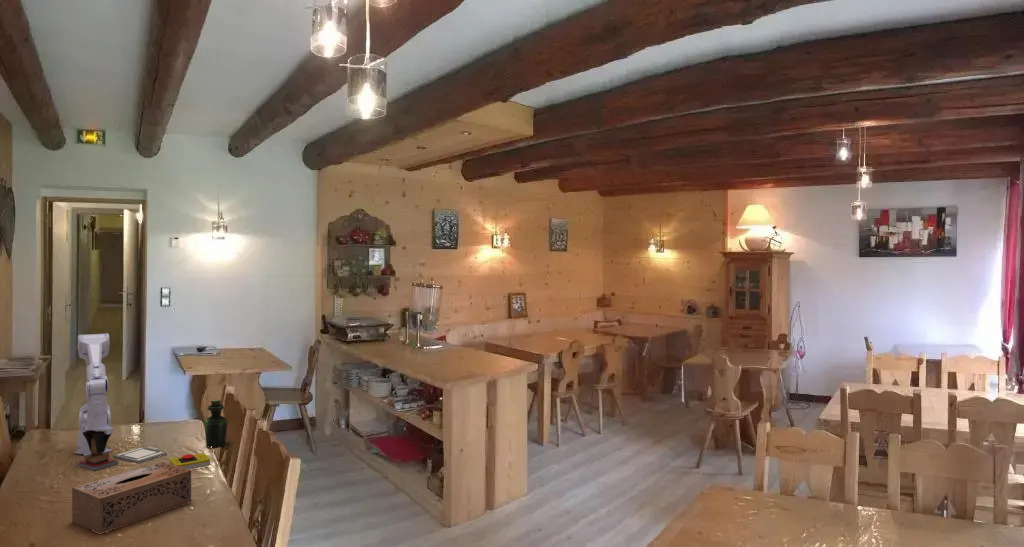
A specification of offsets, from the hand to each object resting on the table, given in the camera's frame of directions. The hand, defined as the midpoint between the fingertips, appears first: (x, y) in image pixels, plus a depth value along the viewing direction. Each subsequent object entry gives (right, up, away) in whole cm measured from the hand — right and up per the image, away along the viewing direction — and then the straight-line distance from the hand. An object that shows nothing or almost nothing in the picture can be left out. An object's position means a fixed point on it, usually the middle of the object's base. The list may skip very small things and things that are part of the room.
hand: (97, 451), depth 220 cm
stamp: (0, -3, 0) cm, 3 cm away
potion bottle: (+30, -5, +24) cm, 39 cm away
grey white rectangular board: (+9, -5, +10) cm, 14 cm away
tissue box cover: (+36, -7, -38) cm, 52 cm away
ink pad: (0, -5, 0) cm, 5 cm away
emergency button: (+32, -6, +1) cm, 33 cm away
